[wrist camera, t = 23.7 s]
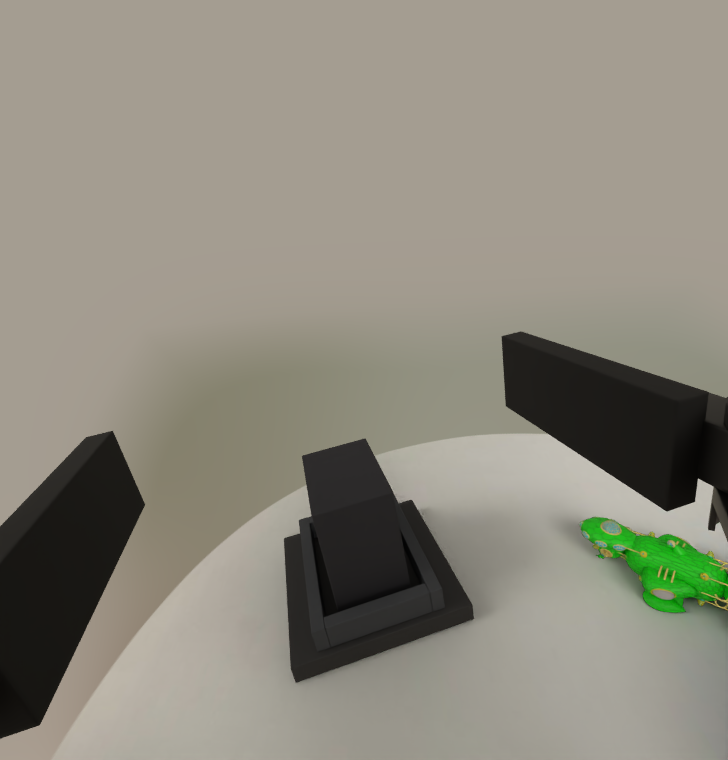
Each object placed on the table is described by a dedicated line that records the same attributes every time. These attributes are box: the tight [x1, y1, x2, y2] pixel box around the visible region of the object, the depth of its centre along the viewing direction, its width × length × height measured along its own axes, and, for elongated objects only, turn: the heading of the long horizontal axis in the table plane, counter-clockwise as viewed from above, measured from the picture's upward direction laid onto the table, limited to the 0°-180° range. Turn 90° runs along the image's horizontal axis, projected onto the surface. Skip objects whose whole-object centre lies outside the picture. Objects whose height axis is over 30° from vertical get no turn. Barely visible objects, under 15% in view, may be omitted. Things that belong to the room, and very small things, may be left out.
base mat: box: [284, 496, 474, 682], centre depth 36 cm, size 14×14×4 cm
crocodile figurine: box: [579, 517, 728, 613], centre depth 28 cm, size 7×18×4 cm, turn 45°
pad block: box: [302, 439, 411, 612], centre depth 34 cm, size 6×9×10 cm, turn 13°
